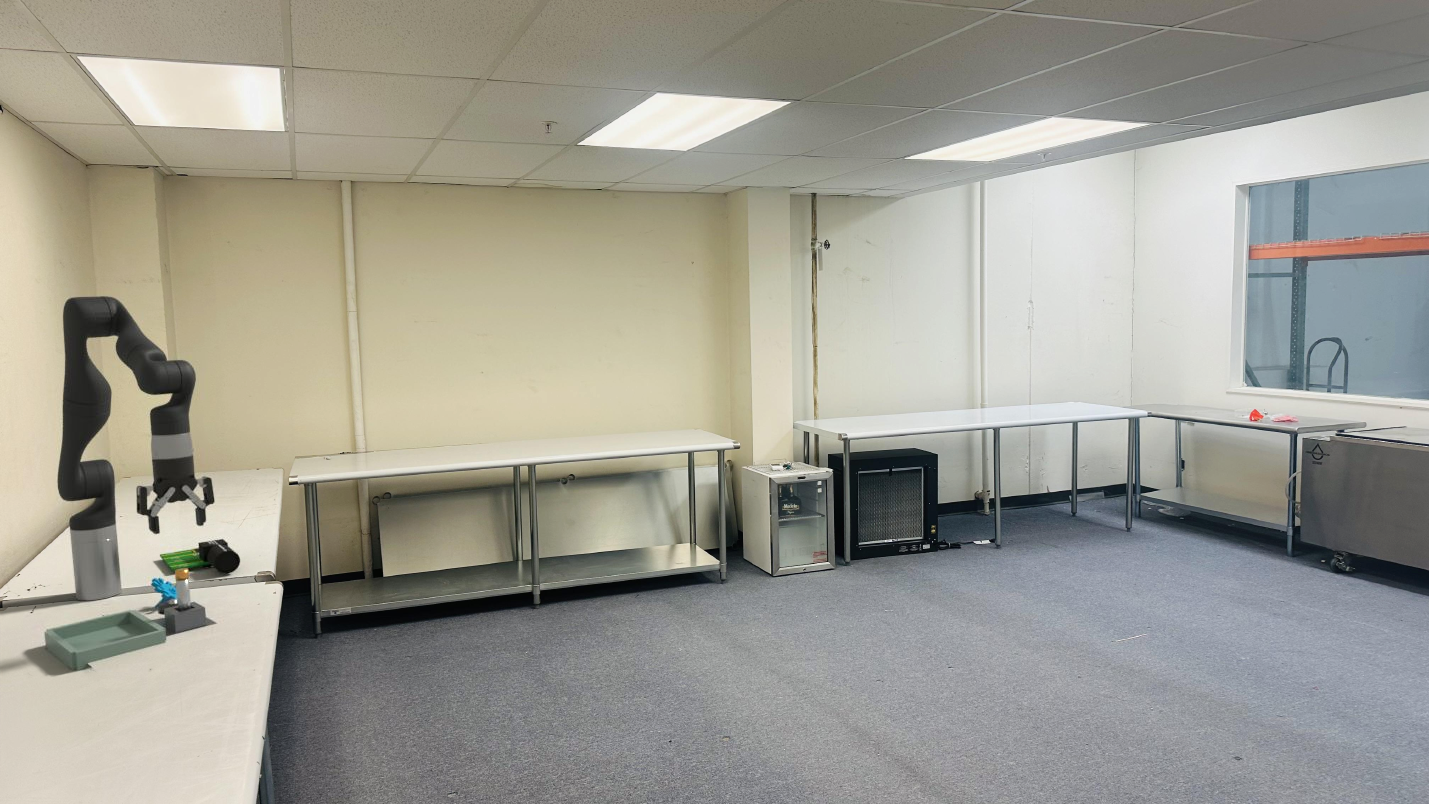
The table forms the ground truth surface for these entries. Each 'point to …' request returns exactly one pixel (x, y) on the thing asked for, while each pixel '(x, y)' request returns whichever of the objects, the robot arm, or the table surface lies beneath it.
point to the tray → (103, 638)
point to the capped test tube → (183, 589)
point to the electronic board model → (205, 557)
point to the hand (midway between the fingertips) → (178, 529)
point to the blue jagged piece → (164, 589)
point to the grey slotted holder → (181, 617)
